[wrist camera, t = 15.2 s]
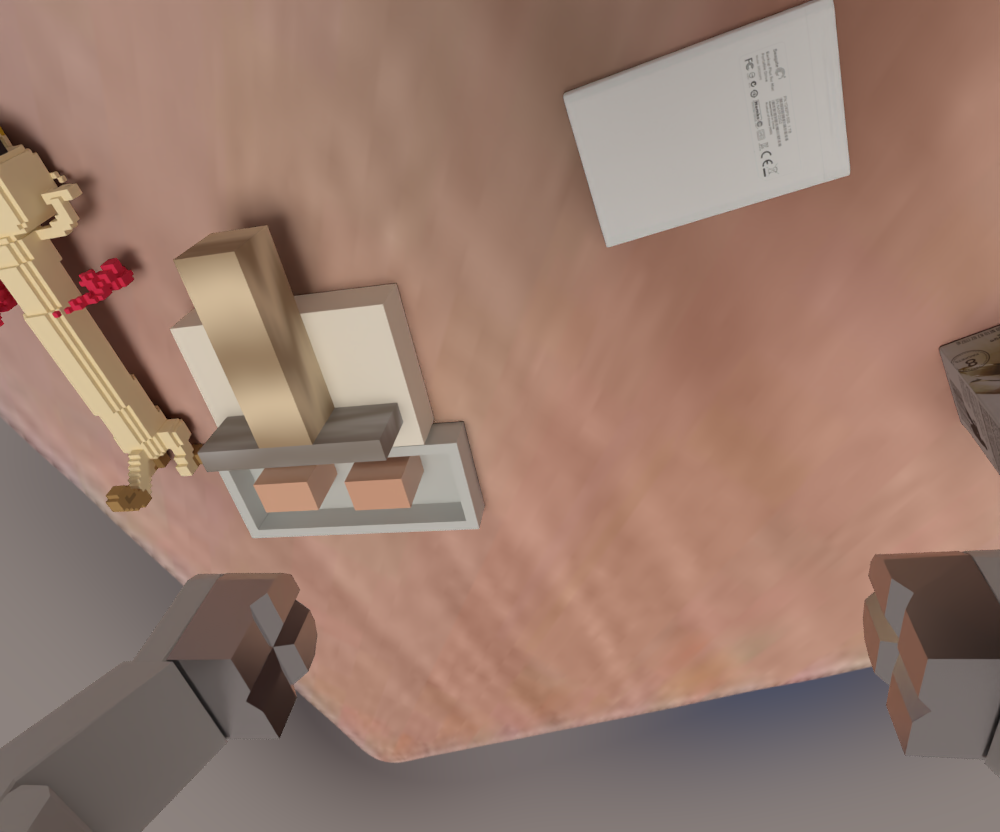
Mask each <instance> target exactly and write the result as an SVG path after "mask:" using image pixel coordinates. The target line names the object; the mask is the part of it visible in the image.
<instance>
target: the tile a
mask: <svg viewBox="0 0 1000 832" xmlns="http://www.w3.org/2000/svg"><path fill="white" fill-rule="evenodd" d="M337 474H338V473H337V470H336V468H335V465H334V464H323V465H307V466H292V467H276V468H264V470H263V471H262V473H261V474H260V476H259V477H258V479H257V480H256V482H255V483H254V485H253V486H254V488H255V490H256V492H257V494H258V496H259V498H260V500H261V502H262V504H263V506H264V509H265V511H266V513H268V512H288V511H309V510H319V508H320V507H321V505H322V503H323V501H324V499H325V497H326V495H327V493H328V491H329V489H330V488H331V486H332V484H333V482H334V480H335V478H336V476H337Z"/></svg>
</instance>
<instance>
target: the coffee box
mask: <svg viewBox="0 0 1000 832" xmlns="http://www.w3.org/2000/svg"><path fill="white" fill-rule="evenodd" d="M939 350H940V354H941V358H942V361H943V364H944V368H945V371H946V375H947V378H948V382H949V385H950V388H951V392H952V395H953V398H954V402H955V405H956V408H957V411H958V415H959V418H960V421H961V423H962V425H963V426H964V427H965V428H966V429H967V430H968V432H969V433H970V434H971V435H972V437H973V438H974V440H975V441H976V442H977V444H978V445H979V446H980V448H981V449H982V451H983V452H984V454H985V455H986V456H987V458H988V459H989V461H990V462H991V463H992V465H993V466H994V468H995V469H996V470H997V472H998V473H999V475H1000V326H997V327H994V328H991V329H989V330H986V331H983V332H980V333H977V334H975V335H972V336H969V337H966V338H964V339H961V340H958V341H955V342H953V343H950V344H947V345H944V346H942V347H940V349H939Z"/></svg>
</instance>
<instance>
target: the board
mask: <svg viewBox="0 0 1000 832" xmlns="http://www.w3.org/2000/svg"><path fill="white" fill-rule="evenodd" d="M294 299H295V301H296V304H297V307H298V310H299V312H300V315H301V318H302V320H303V323H304V326H305V329H306V331H307V334H308V337H309V339H310V342H311V345H312V348H313V350H314V353H315V356H316V358H317V361H318V364H319V367H320V369H321V372H322V375H323V377H324V380H325V383H326V385H327V388H328V391H329V394H330V396H331V399H332V402H333V404H334V407H335V408H338V407H350V406H362V405H374V404H386V403H398V407H399V410H400V413H401V416H402V420H403V424H402V426H401V429H400V431H399V433H398V435H397V438H396V440H395V442H394V444H393V447H397V446H412V445H424V444H425V442H426V439H427V436H428V434H429V431H430V428H431V426H432V423H433V421H434V416H433V413H432V409H431V406H430V402H429V398H428V395H427V391H426V388H425V384H424V380H423V377H422V373H421V370H420V366H419V363H418V359H417V355H416V352H415V348H414V345H413V341H412V337H411V334H410V330H409V327H408V323H407V320H406V316H405V312H404V309H403V305H402V302H401V298H400V294H399V291H398V287H397V284H396V283H395V284H387V285H379V286H371V287H363V288H354V289H346V290H338V291H330V292H322V293H314V294H305V295H297V296H294ZM170 330H171V333H172V335H173V337H174V339H175V341H176V343H177V345H178V347H179V349H180V351H181V353H182V355H183V357H184V359H185V361H186V363H187V365H188V367H189V369H190V372H191V374H192V376H193V378H194V380H195V382H196V384H197V386H198V388H199V390H200V392H201V394H202V396H203V398H204V400H205V402H206V404H207V406H208V408H209V411H210V413H211V415H212V417H213V419H214V421H215V423H216V425H217V427H219V426H220V425H221V424H222V422H223V421H224V420H225V419H226V417H230V416H242V415H244V414H243V412H242V410H241V408H240V405H239V403H238V401H237V399H236V397H235V395H234V392H233V390H232V388H231V386H230V384H229V381H228V379H227V377H226V375H225V373H224V370H223V368H222V366H221V364H220V362H219V360H218V357H217V355H216V353H215V351H214V349H213V346H212V344H211V342H210V340H209V338H208V335H207V333H206V331H205V329H204V327H203V325H202V322H201V320H200V318H199V316H198V314H197V311H196V309H195V308H194V309H193V310H191V311H190V312H189V313H188V314H187V315H186V316H184V317H183V318H182V319H181V320H180V321H179V322H177V323H176V324H175V325H174V326H173V327H171V328H170Z"/></svg>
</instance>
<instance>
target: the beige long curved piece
mask: <svg viewBox="0 0 1000 832" xmlns="http://www.w3.org/2000/svg"><path fill="white" fill-rule="evenodd" d="M55 178H57V179H58V180H59V182H60V183H63V182H65V181H67V179H66V177H65V175H63V176H60V175H59V173H58V172H57V171H55V172H51V173H49V172H48V170H47V169H46V167H45V165H44V164H43V162H42V160H41V159H40V157H39V156H38V154H37V153H36V152H35V153H32V151H31V150H30V149H29V148H26V149H25V148H24V146H23V145H22V144H21V145H17V146H12V144H11V142H10V141H9V139H8V138H7V136H6V135H5V133H4V132H3V130H2V129H1V127H0V312H6V311H9V310H10V309H12V308H13V307H14V306H16V305H17V303H18V304H19V306H20V307H21V308H22V310H23V311H24V312H25V313H24V314H23V317H24V320H25V321H26V322H27V324H28V325H29V326H30V328H31V329H32V331H33V332H34V333H35V335H36V336H37V337H38V339H39V340H40V342H41V343H42V344H43V346H44V347H45V348H46V350H47V351H48V353H49V354H50V355H51V357H52V358H53V359H54V361H55V362H56V364H57V365H58V366H59V368H60V369H61V370H62V372H63V373H64V375H65V376H66V377H67V379H68V380H69V381H70V383H71V384H72V386H73V387H74V388H75V390H76V391H77V392H78V394H79V395H80V397H81V398H82V399H83V401H84V402H85V403H86V405H87V406H88V408H89V409H90V410H91V412H92V413H93V414H94V416H100V418H101V419H102V420H103V422H104V423H105V425H106V426H107V427H108V429H109V430H110V431H111V433H112V434H113V436H114V437H113V438H114V440H115V441H116V442H117V444H118V445H119V447H120V448H121V449H122V451H123V452H124V453H129V455H128V457H129V458H130V460H129V461H128V463H129V465H130V466H129V467H128V469H129V471H130V472H129V473H128V475H129V477H130V478H129V479H128V482H129V483H130V484H129V485H128V486H125V485H124V486H113V487H112V489H111V490H110V491H109V492H108V494H107V495H106V497H107V498H108V500H107V501H106V504H107V505H108V506H109V507H110V509H111V510H112V511H113V512H121V511H139V509H140V508H142V507H146V506H147V505H148V503H149V502H150V500H151V499H152V497H151V496H150V494H151V493H152V491H151V490H150V488H151V487H152V485H151V483H150V482H151V481H152V479H151V477H152V476H153V474H154V473H155V472H156V470H157V469H158V468H164V467H166V465H167V464H168V463H169V461H170V460H171V459H170V457H169V456H168V454H167V453H166V451H167V450H168V449H171V450H172V451H173V453H174V454H175V457H174V460H175V461H176V463H177V464H178V465H177V466H176V469H177V470H178V472H179V473H180V475H181V476H192V475H193V474H194V472H195V471H196V469H197V468H198V466H199V465H200V464H203V463H202V461H201V459H200V457H199V456H198V454H197V453H198V451H199V450H200V449H201V448H202V446H203V445H202V444H194V445H191V444H190V442H189V441H188V440H189V438H190V436H191V432H190V431H189V429H188V427H187V426H186V424H185V423H184V421H183V420H182V419H178V418H177V419H166V417H165V416H164V414H163V413H162V411H161V410H160V408H159V407H158V405H157V406H154V405H153V403H152V402H151V400H150V399H149V397H148V396H147V394H146V393H145V391H144V389H143V388H142V386H141V385H140V383H139V382H138V380H137V379H136V377H135V376H134V374H129V373H128V371H127V370H126V368H125V367H124V365H123V364H122V362H121V361H120V359H119V358H118V356H117V355H116V353H115V351H114V350H113V348H112V347H111V345H110V344H109V342H108V341H107V339H106V338H105V336H104V335H103V333H102V332H101V330H100V329H99V327H98V326H97V324H96V323H95V321H94V320H93V318H92V317H91V315H90V313H89V312H88V310H87V309H86V306H87V305H88V304H95V303H98V302H99V301H101V300H105V299H106V298H107V297H108V296H109V295H110V294H111V293H112V291H113V290H119V289H121V288H122V287H126V286H127V285H129V284H130V283H131V282H132V281H133V280H134V278H133V277H132V275H133V272H132V270H128V269H126V268H125V266H122V265H121V263H120V261H119V260H118V259H117V258H114V259H108V260H107V261H106V262H105V263H103V264H102V265H101V266H100V267H101V269H102V270H103V271H99V272H97V273H95V271H94V270H93V269H91V270H88V271H87V272H84V273H81V274H80V275H79V277H80V278H81V281H79V284H80V285H81V287H83V286H86V288H87V289H88V291H89V293H85V294H84V295H83V296H82V295H81V293H80V292H79V290H78V289H77V287H76V285H75V284H74V282H73V281H72V279H71V278H70V276H69V275H68V273H67V272H66V270H65V269H64V267H63V266H62V264H61V263H60V261H61V260H62V257H61V256H60V254H59V253H58V251H57V249H56V248H55V246H54V245H53V243H52V242H51V240H50V239H51V238H57V237H62V236H67V235H68V234H70V233H71V232H73V231H72V229H73V228H75V227H76V226H78V223H77V221H78V220H79V217H78V215H77V214H76V212H75V210H74V209H73V207H72V206H71V204H70V202H69V201H68V200H73V199H75V198H76V197H78V196H80V195H81V194H83V193H82V192H81V190H80V188H79V187H78V185H77V183H76V184H71V183H70V184H65V185H62V186H60V187H57V185H56V183H55V182H54V180H53V179H55ZM57 213H58V214H57ZM56 214H57V215H56ZM54 215H55V219H54V220H52V221H51V222H49V224H50V225H47V226H42V227H41V225H40V224H42V223H43V222H45V221H46V220H48V219H49V218H51V217H52V216H54ZM0 315H1V314H0ZM0 319H2V317H1V316H0ZM3 324H4V323H3V321H2V320H0V326H2V325H3Z"/></svg>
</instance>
